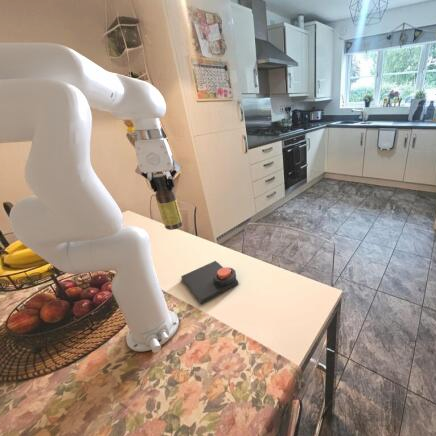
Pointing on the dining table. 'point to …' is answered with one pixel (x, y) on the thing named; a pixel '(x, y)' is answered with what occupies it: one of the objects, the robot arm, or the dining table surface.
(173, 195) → the sauce bottle
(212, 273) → the black flat block
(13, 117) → the robot arm
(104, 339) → the dining table surface
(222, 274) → the button
